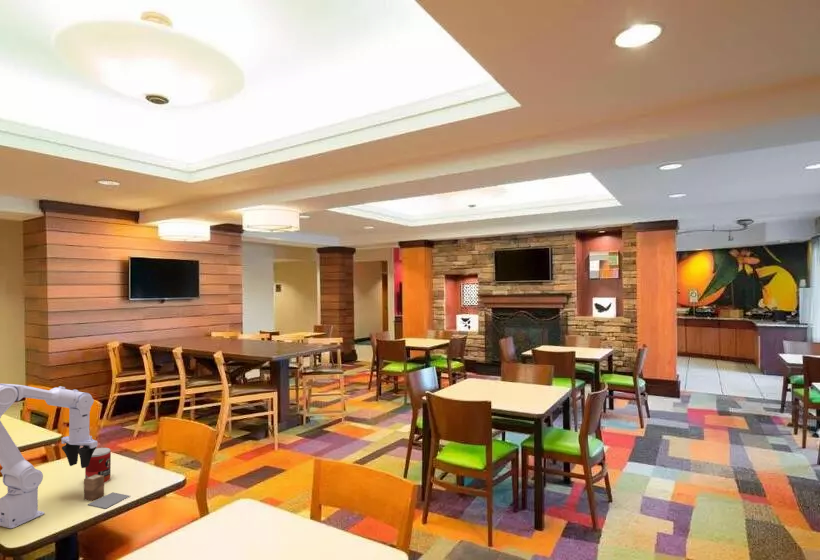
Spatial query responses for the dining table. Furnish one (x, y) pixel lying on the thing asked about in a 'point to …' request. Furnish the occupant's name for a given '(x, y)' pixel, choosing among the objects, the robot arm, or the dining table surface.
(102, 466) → the canned food
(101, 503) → the felt mat
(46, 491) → the dining table surface
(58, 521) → the dining table surface
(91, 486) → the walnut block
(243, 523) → the dining table surface
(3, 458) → the robot arm
